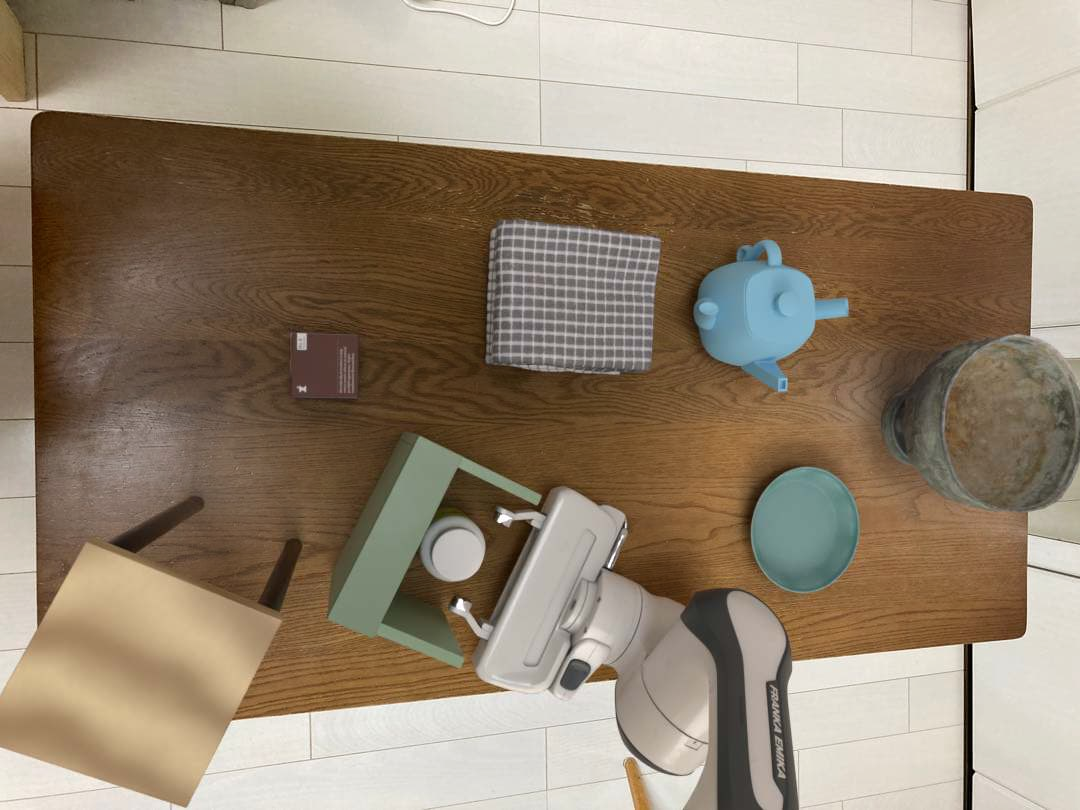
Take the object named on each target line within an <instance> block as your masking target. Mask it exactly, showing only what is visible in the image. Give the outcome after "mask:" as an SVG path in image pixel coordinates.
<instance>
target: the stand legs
mask: <svg viewBox="0 0 1080 810" xmlns="http://www.w3.org/2000/svg"><path fill="white" fill-rule="evenodd" d="M204 507H205V501H204V499H203V498H202V497H201V496H199V495H191V496H189V497H188V498H186V499H184V500H182V501H181V502H179V503H176V504H175V505H173V506H171V507H169V508H167V509H166V510H163V511H161V512H160V513H158V514H156V515H154V516H152V517H151V518H150V517H149V519H147V520H145V521H143V522H141V523H139V524H137V525H135V526H133V527H131V528H130V529H128V530H126V531H123V533H120V534H119V535H116V536H115V537H113V538H110V539H109V540H107V541H106V542H107V543H110V544H112V545H115V546H117V547H120V548H122V549H125V550H127V551H130V552H132V553H134V554H137V553H139V552H141V551H142V550H144V549H145V548H147V547H148V546H150V545H151V544H153V543H154V542H155V541H157V540H159V539H160V538H161V537H163V536H164V535H165V536H166V534H168V533H170V531H172V530H174V529H175V528H177V527H178V526H180V525H181V524H183V523H185V522H186V521H187V520H188V519H190V518H192V517H193V516H195V515H196V514H198V513H199V512H201V511H202V510H203V509H204ZM302 543H303V542H302V541H301V540H300V539H299V538H296V537H291V538H290V539H288V540H287V541H286V542H285V544H284V546H283V549H282V550H281V553H280V555H279V557H278V559H277V561H276V563H275V565H274V567H273V569H272V571H271V573H270V575H269V578H268V580H267V582H266V584H265V585H264V588H263V589H262V592H261V594H260V597H259V599H258V601H257V603H258V604H261V605H263V606H266V607H268V608H271V609H273V610H276V611H278V612H281V610H282V608H283V604H284V601H285V598H286V595H287V593H288V589H289V586H290V583H291V581H292V577H293V575H294V572H295V570H296V566H297V564H298V561H299V558H300V555H301V552H302V548H303V544H302Z"/></svg>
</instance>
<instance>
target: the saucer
mask: <svg viewBox="0 0 1080 810" xmlns="http://www.w3.org/2000/svg"><path fill="white" fill-rule="evenodd" d="M860 529H861V521H860V514H859V508H858V506H857V503H856V500H855V497H854V496H853V494H852V493H851V491H850V489H849V488H848V486H847V485H846V484H845V483H844V482H843V480H842V479H840V478H839V477H838V476H836V475H835V474H834V473H832V472H830V471H829V470H827V469H823V468H820V467H815V466H799V467H794V468H791V469H789V470H787V471H784V472H782V473H781V474H780V475H779V476H777V477H776V478H775V479H773V480H772V481H771V482H770V483H769V484H768V485H767V486H766V488H765V489H764V490H763V492H762V493H761V494H760V496H759V498H758V500H757V502H756V503H755V506H754V508H753V513H752V516H751V522H750V540H751V541H750V542H751V548H752V553H753V556H754V558H755V561H756V563H757V565H758V567H759V569H760V570H761V571H762V573H763V574H764V576H766V578H767V579H768V580H769V581H770V582H771V583H772V584H774V585H775V586H777V587H779V588H781V589H783V590H785V591H788V592H791V593H795V594H809V593H816V592H818V591H819V592H820V591H821V590H823V589H825V588H828V587H829V586H831V585H832V584H833V583H835V582H836V581H837V580H839V578H841V577H842V575H843V574H844V573H845V572H846V571H847V570H848V568H849V566H850V564H851V563H852V562H853V559H854V557H855V555H856V552H857V548H858V545H859V541H860V533H861V530H860Z"/></svg>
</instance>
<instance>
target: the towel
mask: <svg viewBox="0 0 1080 810" xmlns="http://www.w3.org/2000/svg"><path fill="white" fill-rule="evenodd" d="M489 235H490V236H489V238H490V241H489V244H488V246H489V253H488V266H487V267H488V277H487V279H488V282H487V294H486V301H487V303H486V312H487V314H486V321H487V322H486V323H487V324H486V337H485V339H486V346H485V352H486V354H485V358H484V359H485V364H486V365H492V366H504V367H505V366H506V367H514V368H518V369H519V368H521V369H526V370H531V371H539V372H545V373H547V372H553V373H554V372H558V373H561V372H572V373H579V374H598V375H601V374H603V375H615V376H620V375H621V373H627V374H634V373H637V374H638V373H639V374H643V373H645V371H649V370H651V367H652V364H651V363H652V359H653V346H654V345H653V344H654V341H653V338H654V323H655V317H654V316H655V300H656V297H655V294H656V289H657V281H658V274H659V268H660V267H659V266H660V260H661V259H660V258H661V249H662V241H661V238H660V237H659V235H654V234H644V233H639V232H638V233H635V232H634V233H633V232H631V231H630V232H629V231H621V230H612V229H602V228H595V227H589V226H584V225H581V226H580V225H578V224H577V225H575V224H572V225H567V224H558V223H547V222H544V221H536V220H527V219H526V218H517V219H516V218H515V219H504V218H502V219H500V218H499V220H498V222H497V226H496V227H493V228H491V231H490V234H489Z"/></svg>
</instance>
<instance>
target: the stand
mask: <svg viewBox="0 0 1080 810" xmlns="http://www.w3.org/2000/svg"><path fill="white" fill-rule="evenodd" d="M284 617H285V613H283V612H282V611H280V612H278V611H276V610H273V609H271V608H268V607H266V606H263V605H261V604H258V602H255V601H253V600H251V599H248V598H245V597H243V596H241V595H238V594H237V593H233V592H232V591H228V590H226V589H223V588H222V587H219V586H216V585H213V584H211V583H209V582H206V581H203V580H201V579H198V578H196V577H193V576H191V575H189V574H186V573H184V572H181V571H180V570H177V569H174V568H173V567H172V568H171V567H169V566H168V565H167V566H166V565H164V564H163V563H159V562H157V561H155V560H151V559H149V558H147V557H144V556H142V555H139V554H137V553H136V554H134V553H132V552H130V551H127V550H125V549H122V548H120V547H117V546H115V545H112V544H110V543H107V541H106V540H102V539H99V538H98V537H93V538H91V539H89V540H87V541H85V543H84V545H83V546H82V547H81V550H80V551H79V553H78V555H77V557H76V558H75V560H74V562H73V564H72V566H71V567H70V569H69V571H68V572H67V574H66V577H65V578H64V580H63V582H62V584H61V585H60V587H59V589H58V591H57V592H56V594H55V596H54V597H53V600H52V602H51V603H50V605H49V607H48V609H47V610H46V612H45V614H44V616H43V617H42V619H41V622H40V623H39V625H38V626H37V629H36V630H35V632H34V634H33V636H32V637H31V639H30V641H29V643H28V645H27V646H26V648H25V650H24V652H23V654H22V655H21V656H20V659H19V661H18V662H17V664H16V666H15V667H14V669H13V671H12V673H11V675H10V676H9V678H8V680H7V682H6V684H5V686H4V687H3V689H2V691H1V693H0V748H1V749H4V750H7V751H10V752H13V753H16V754H19V755H23V756H25V757H28V758H30V759H31V758H32V759H35V760H38V761H40V762H43V763H48V764H50V765H53V766H56V767H60V768H62V769H66V770H69V771H71V772H74V773H78V774H81V775H84V776H86V777H90V778H93V779H96V780H99V781H102V782H105V783H108V784H111V785H114V786H117V787H121V788H123V789H127V790H129V791H132V792H136V793H139V794H143V795H145V796H147V797H150V798H153V799H156V800H160V801H163V802H166V803H170V804H171V805H175V806H178V807H181V808H185V809H186V808H188V807H189V805H190V802H191V801H192V799H193V797H194V795H195V793H196V791H197V789H198V787H199V785H200V783H201V781H202V779H203V777H204V775H205V773H206V771H207V770H208V767H209V765H210V764H211V761H212V760H213V757H214V756H215V754H216V752H217V749H218V748H219V746H220V744H221V742H222V740H223V738H224V736H225V734H226V732H227V730H228V728H229V726H230V724H231V722H233V719H234V717H235V715H236V714H237V711H238V709H239V707H240V705H241V703H242V701H243V700H244V698H245V695H246V694H247V691H248V689H249V688H250V685H251V684H252V683H253V680H254V678H255V675H256V673H257V672H258V670H259V668H260V666H261V664H262V662H263V660H264V658H265V657H266V655H267V653H268V650H269V648H270V647H271V645H272V643H273V641H274V639H275V637H276V635H277V632H278V631H279V629H280V627H281V625H282V623H283V620H284Z"/></svg>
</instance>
